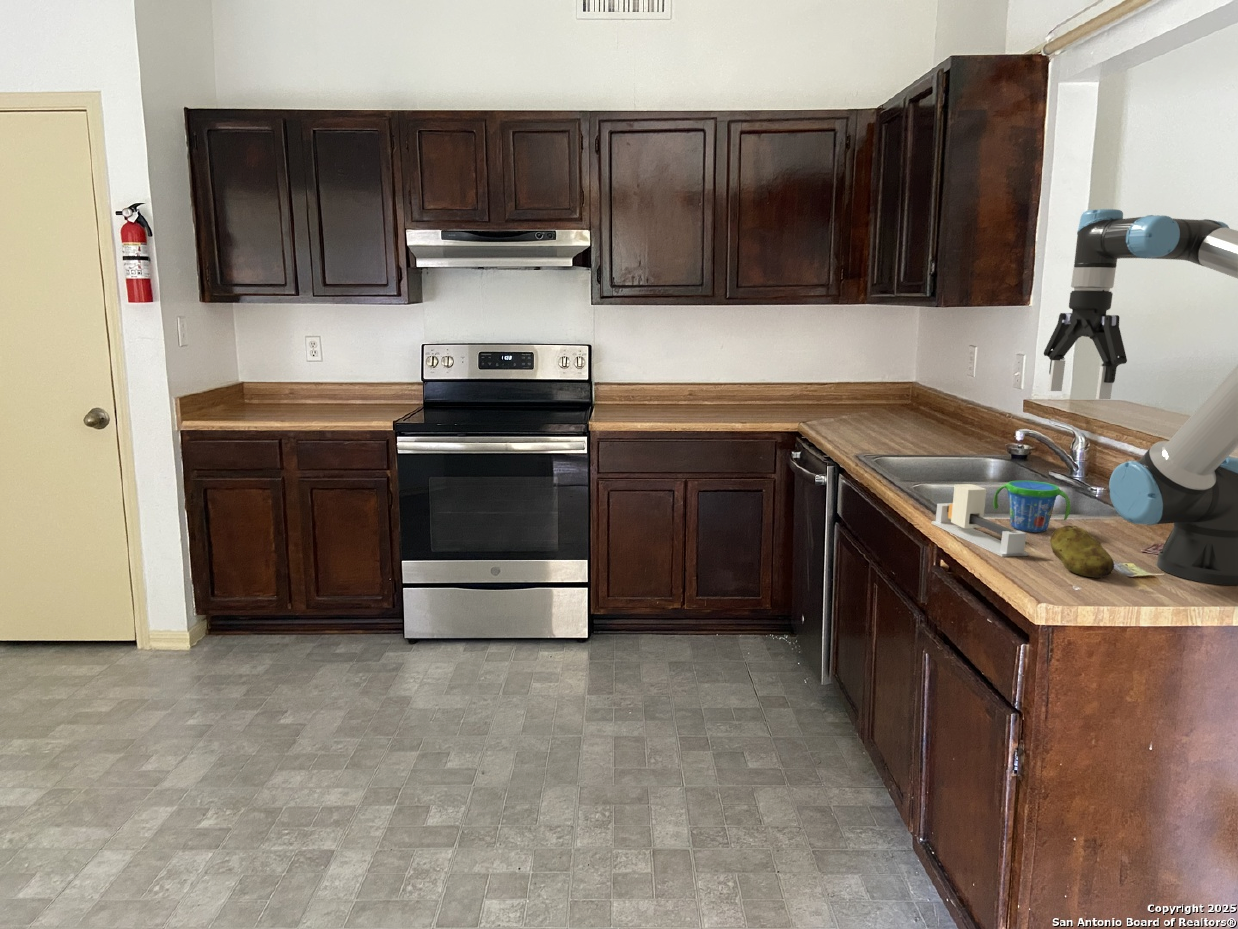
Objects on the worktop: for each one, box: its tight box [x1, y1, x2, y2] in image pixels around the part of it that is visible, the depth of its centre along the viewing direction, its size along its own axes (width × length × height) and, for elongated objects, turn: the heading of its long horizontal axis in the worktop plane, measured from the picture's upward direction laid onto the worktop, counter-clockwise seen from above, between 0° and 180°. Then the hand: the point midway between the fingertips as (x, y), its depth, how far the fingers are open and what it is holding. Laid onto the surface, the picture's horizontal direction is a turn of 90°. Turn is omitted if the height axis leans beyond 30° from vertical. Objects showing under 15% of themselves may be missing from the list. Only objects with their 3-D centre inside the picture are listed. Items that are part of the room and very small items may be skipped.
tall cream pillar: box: [951, 483, 987, 529], centre depth 187 cm, size 5×4×8 cm
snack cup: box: [993, 479, 1071, 533], centre depth 193 cm, size 16×10×10 cm
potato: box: [1049, 525, 1115, 579], centre depth 164 cm, size 8×13×8 cm, turn 177°
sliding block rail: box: [931, 502, 1029, 558], centre depth 184 cm, size 25×6×6 cm, turn 13°
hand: (1078, 395), depth 177 cm, fingers open, 13 cm apart
